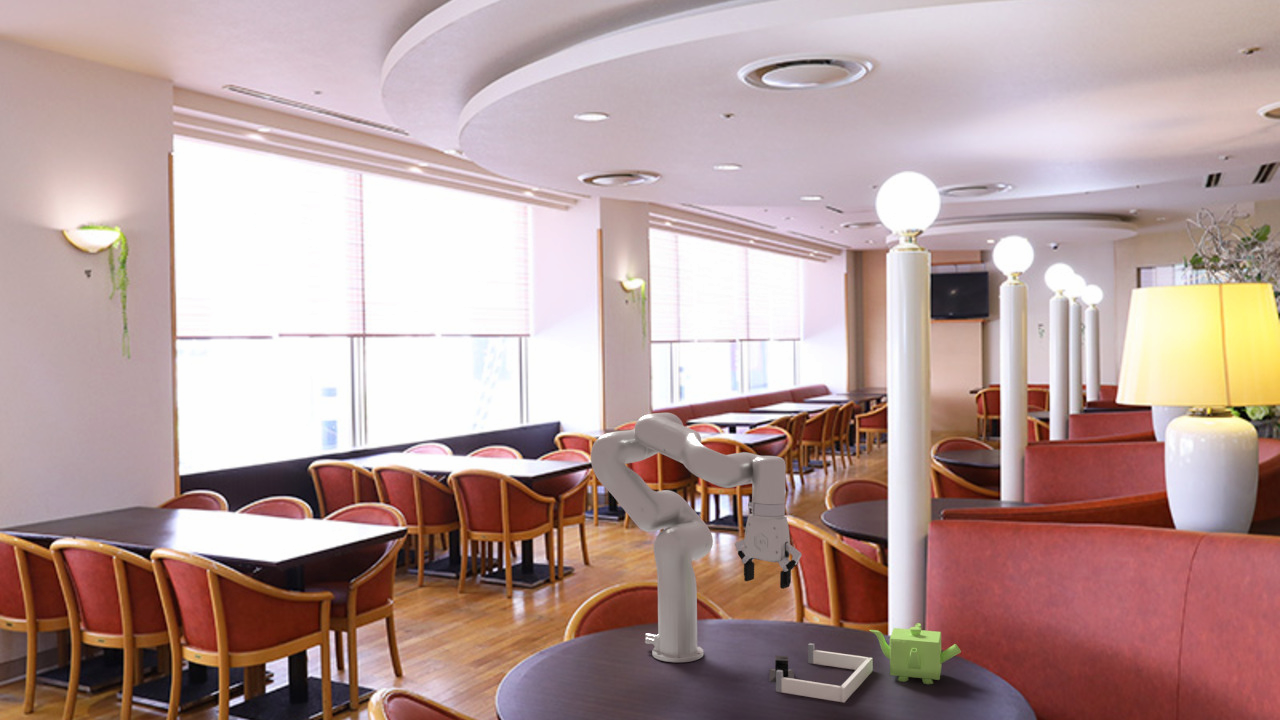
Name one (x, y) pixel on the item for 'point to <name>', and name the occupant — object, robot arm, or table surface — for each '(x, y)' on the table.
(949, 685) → the table surface
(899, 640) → the kettle
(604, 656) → the table surface
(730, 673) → the table surface
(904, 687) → the table surface
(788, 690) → the bay
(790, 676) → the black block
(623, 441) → the robot arm
